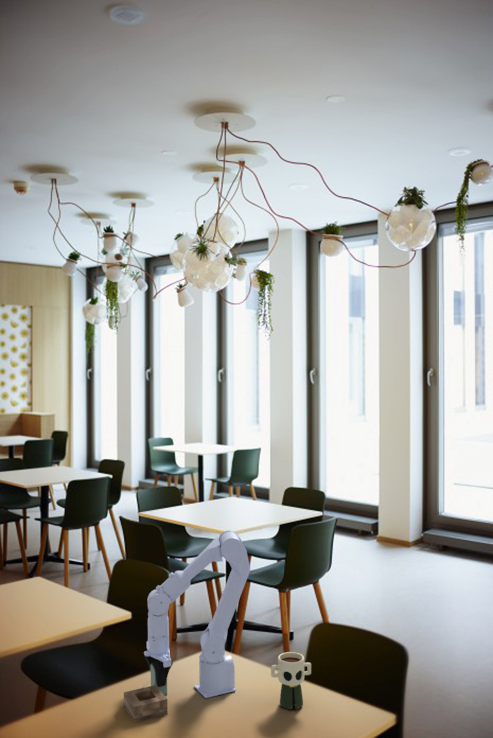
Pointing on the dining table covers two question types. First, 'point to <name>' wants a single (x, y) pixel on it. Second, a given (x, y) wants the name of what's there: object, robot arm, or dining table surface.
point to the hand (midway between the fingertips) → (158, 683)
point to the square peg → (153, 682)
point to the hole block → (145, 703)
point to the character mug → (291, 678)
